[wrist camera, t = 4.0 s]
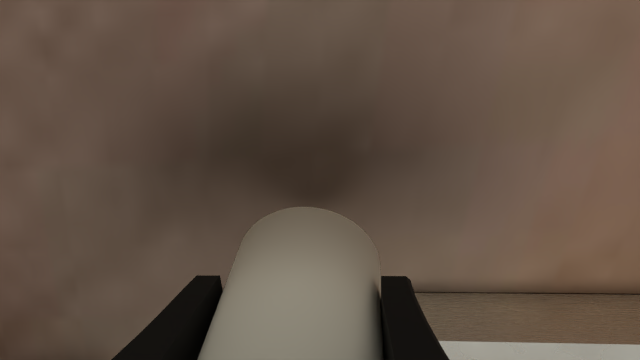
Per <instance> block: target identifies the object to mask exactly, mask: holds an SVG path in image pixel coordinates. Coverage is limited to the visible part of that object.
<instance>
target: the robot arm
mask: <svg viewBox="0 0 640 360" xmlns="http://www.w3.org/2000/svg"><path fill="white" fill-rule="evenodd" d="M222 292H223V289H222V284H221V280H220V276H196V277H195V278H194V279H193V280H192V281H191V282H190V283H189V284H188V285H187V286H186V287H185V288H184V289H183V290H182V291H181V292H180V293H179V294H178V295H177V296H176V297H175V298H174V299H173V300H172V301H171V302H170V303H169V305H168V306H167V307H166V308H165V309H164V310H163V311H162V312H161V313H160V314H159V315H158V316H157V317H156V318H155V319H154V320H153V321H152V322H151V323H150V324H149V325H148V326H147V327H146V328H145V329H144V330H143V331H142V332H141V333H140V334H139V335H138V336H137V337H136V338H135V339H133V340H132V341H131V342H130V343H129V344H128V345H127V346H126V347H125V348H124V349H123V350H121V351H120V352H119V353H118V354H117V355H116V356H115V357H114V358H113V359H112V360H197V359H198V356H199V354H200V351H201V348H202V346H203V343H204V340H205V338H206V335H207V332H208V330H209V327H210V324H211V322H212V319H213V316H214V314H215V311H216V308H217V306H218V303H219V300H220V297H221V295H222ZM381 313H382V334H383V352H384V360H450V359H449V358H448V356H447V355H446V353H445V351H444V350H443V348H442V346H441V345H440V343H439V341H438V339H437V338H436V336H435V334H434V332H433V331H432V329H431V327H430V325H429V323H428V321H427V319H426V317H425V315H424V313H423V311H422V309H421V307H420V305H419V303H418V300H417V298H416V296H415V293H414V290H413V287H412V284H411V281H410V279H408V278H407V277H406V276H381Z"/></svg>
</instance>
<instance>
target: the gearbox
mask: <svg viewBox="0 0 640 360" xmlns="http://www.w3.org/2000/svg"><path fill="white" fill-rule="evenodd" d="M415 296H416V298H417V300H418V303H419V305H420V307H421V309H422V311H423V313H424V315H425V317H426V319H427V321H428V323H429V325H430V327H431V329H432V331H433V332H434V334H435V336H436V338H437V339H438V341H439V343H440V345H441V346H442V348H443V350H444V351H445V353H446V355H447V356H448V358H449V359H450V360H640V295H615V294H499V293H415Z"/></svg>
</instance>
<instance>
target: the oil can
mask: <svg viewBox="0 0 640 360" xmlns="http://www.w3.org/2000/svg"><path fill="white" fill-rule="evenodd" d="M197 360H384V352H383V334H382V313H381V267H380V259H379V255H378V252H377V249H376V247H375V245H374V243H373V242H372V240H371V238H370V237H369V236H368V235H367V234H366V232H365V231H364V230H363V229H362V228H360V227H359V226H358V225H357V224H356V223H354V222H353V221H351V220H350V219H348V218H346V217H344V216H342V215H340V214H338V213H335V212H333V211H329V210H326V209H321V208H315V207H292V208H287V209H282V210H279V211H276V212H273V213H271V214H269V215H267V216H265V217H263V218H262V219H260V220H259V221H257V222H256V223H255V224H254V225H253V226H252V227H251V228H250V229H249V230H248V231H247V233H246V234H245V236H244V238H243V239H242V242H241V244H240V247H239V249H238V252H237V255H236V257H235V260H234V263H233V265H232V268H231V271H230V273H229V276H228V279H227V281H226V284H225V287H224V289H223V292H222V295H221V297H220V300H219V303H218V306H217V308H216V311H215V314H214V316H213V319H212V322H211V324H210V327H209V330H208V332H207V335H206V338H205V340H204V343H203V346H202V348H201V351H200V354H199V356H198V359H197Z"/></svg>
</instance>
